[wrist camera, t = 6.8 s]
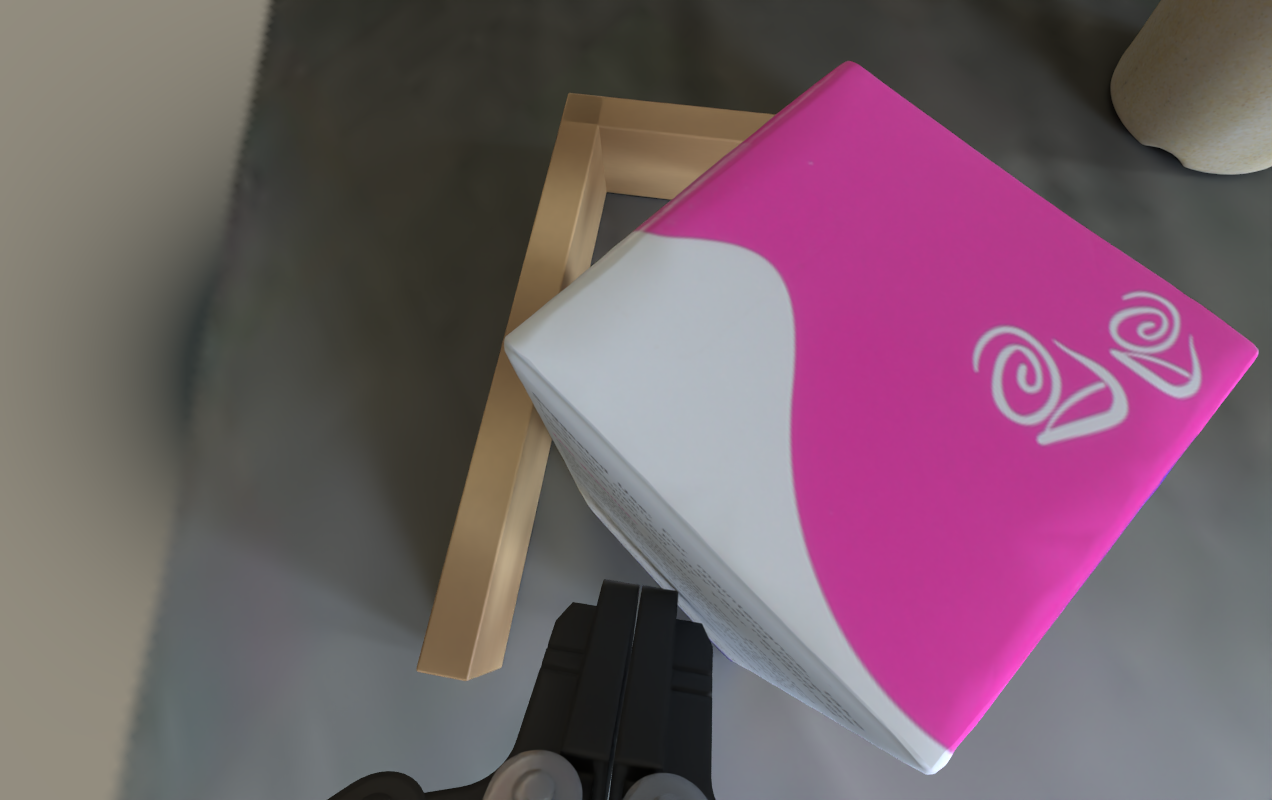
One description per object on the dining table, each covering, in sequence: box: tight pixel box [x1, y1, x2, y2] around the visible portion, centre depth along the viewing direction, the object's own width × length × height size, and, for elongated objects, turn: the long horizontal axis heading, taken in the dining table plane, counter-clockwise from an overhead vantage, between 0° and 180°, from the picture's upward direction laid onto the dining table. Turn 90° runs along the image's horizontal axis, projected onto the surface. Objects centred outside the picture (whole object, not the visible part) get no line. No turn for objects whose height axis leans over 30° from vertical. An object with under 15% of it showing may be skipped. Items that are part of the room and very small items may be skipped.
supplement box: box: [504, 61, 1259, 775], centre depth 11 cm, size 6×6×12 cm
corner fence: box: [417, 93, 776, 681], centre depth 16 cm, size 16×11×3 cm, turn 171°
